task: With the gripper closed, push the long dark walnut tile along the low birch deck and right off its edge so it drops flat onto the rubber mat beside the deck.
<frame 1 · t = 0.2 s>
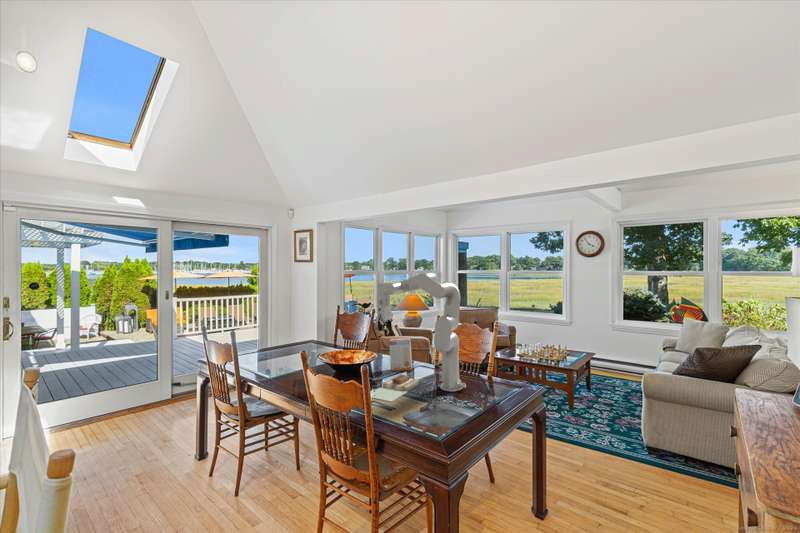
hand: (384, 329, 237), 31 cm above the table, tool pointing down, fingers open, 9 cm apart
mat: (386, 394, 208), on the table
deck: (401, 385, 221), on the table
tile: (400, 381, 221), point 2 cm above the table, touching deck
cracker box: (401, 370, 253), on the table
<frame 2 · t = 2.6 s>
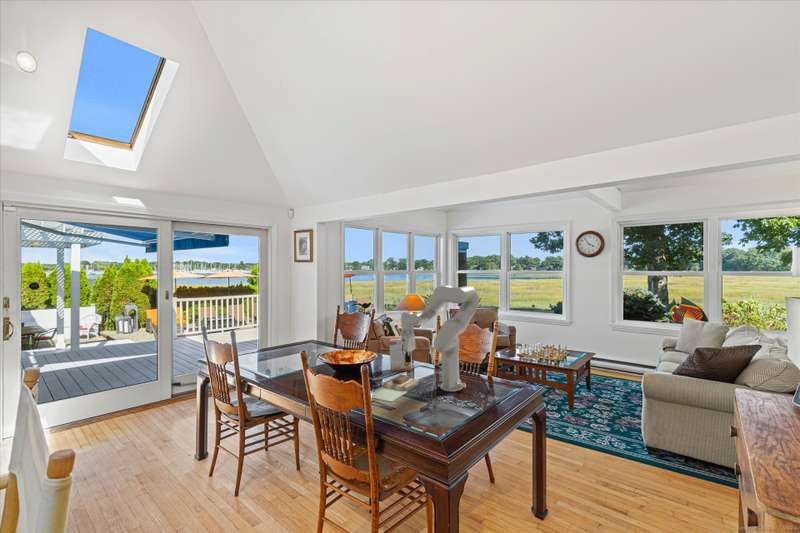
hand: (408, 361, 230), 11 cm above the table, tool pointing down, fingers closed
nothing on the table moved.
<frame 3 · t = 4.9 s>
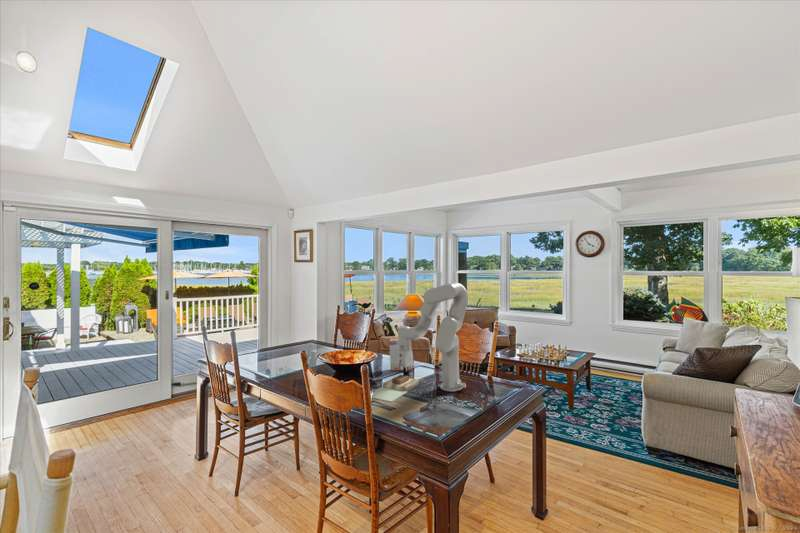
hand: (406, 377, 226), 3 cm above the table, tool pointing down, fingers closed
tile: (400, 381, 221), point 2 cm above the table, touching deck, gripper
everything else where it was.
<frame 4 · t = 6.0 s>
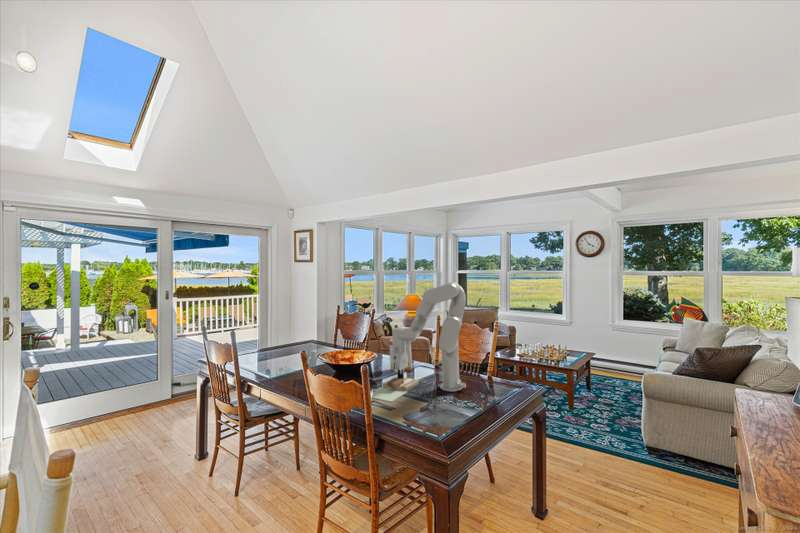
hand: (400, 380, 221), 3 cm above the table, tool pointing down, fingers closed
tile: (395, 384, 215), point 2 cm above the table, touching deck, gripper
everything else where it was.
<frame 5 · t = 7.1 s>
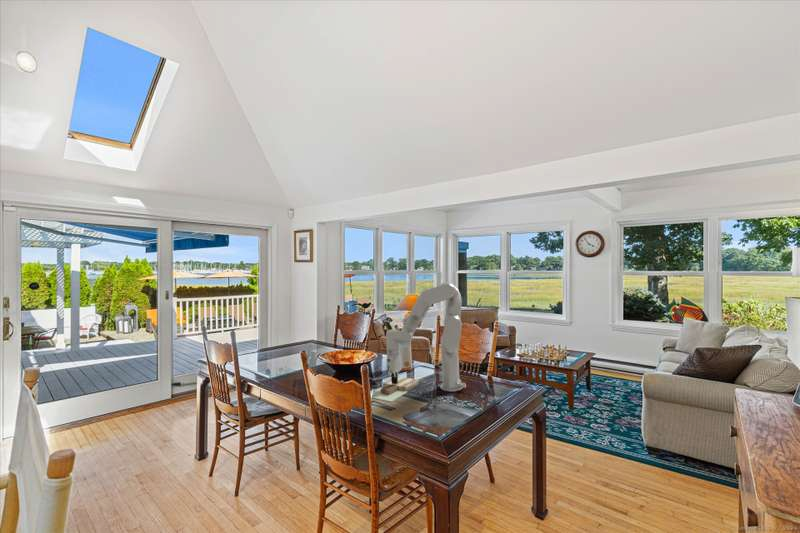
hand: (394, 383, 216), 3 cm above the table, tool pointing down, fingers closed
tile: (389, 391, 211), resting on mat
everything else where it was.
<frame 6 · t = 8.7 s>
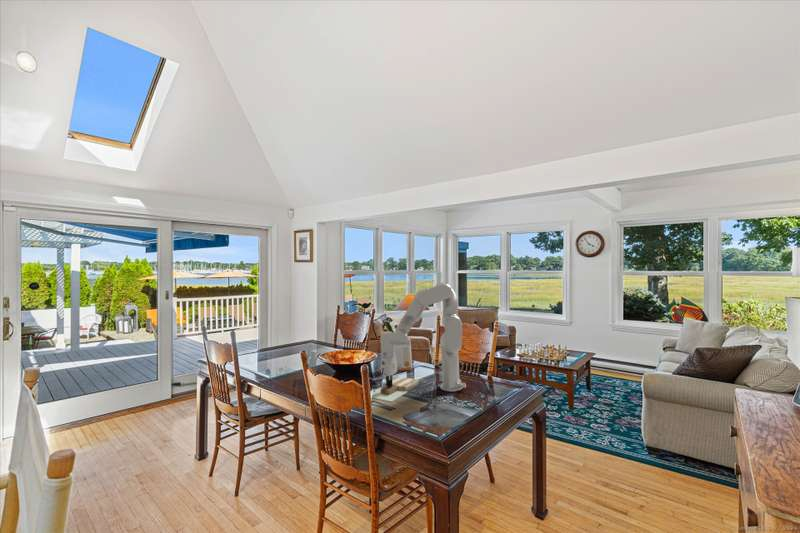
hand: (389, 386, 211), 3 cm above the table, tool pointing down, fingers closed
nothing on the table moved.
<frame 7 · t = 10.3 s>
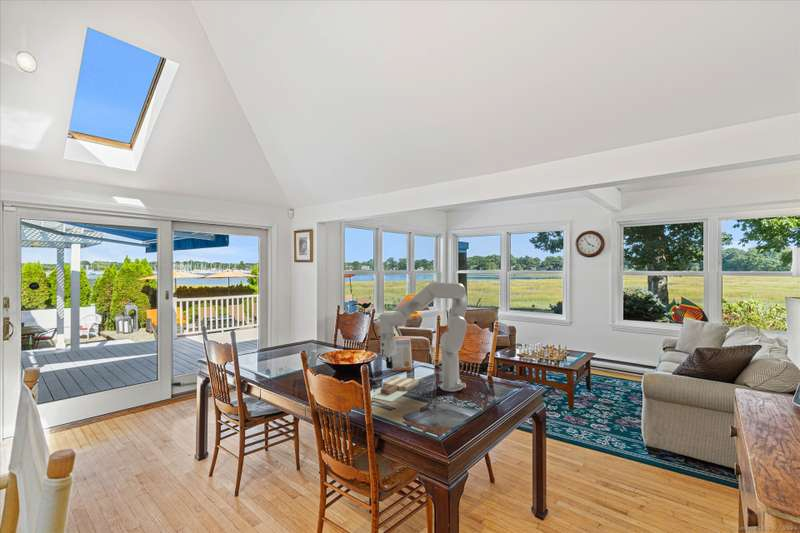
hand: (389, 368, 211), 14 cm above the table, tool pointing down, fingers closed
nothing on the table moved.
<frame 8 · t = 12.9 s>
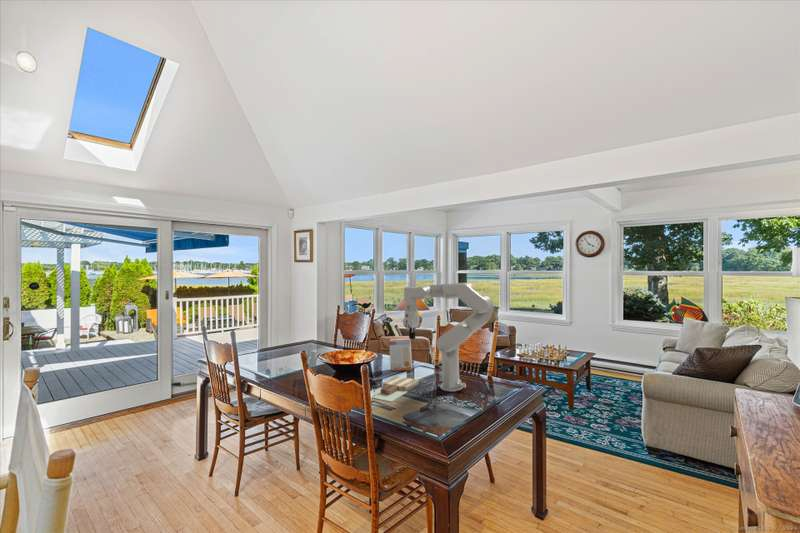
hand: (412, 338, 221), 27 cm above the table, tool pointing down, fingers closed
nothing on the table moved.
at the end: tile inside the target area (3.8 cm from its centre), resting on mat; tile tilted 0° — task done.
